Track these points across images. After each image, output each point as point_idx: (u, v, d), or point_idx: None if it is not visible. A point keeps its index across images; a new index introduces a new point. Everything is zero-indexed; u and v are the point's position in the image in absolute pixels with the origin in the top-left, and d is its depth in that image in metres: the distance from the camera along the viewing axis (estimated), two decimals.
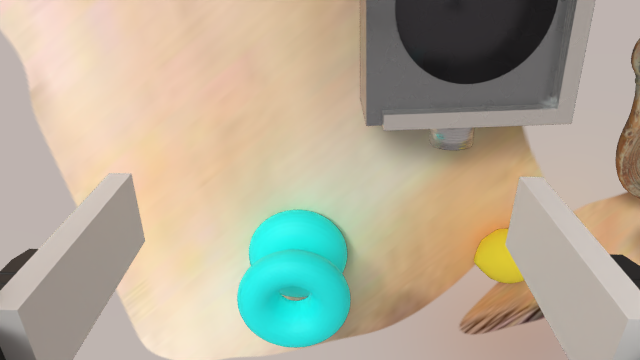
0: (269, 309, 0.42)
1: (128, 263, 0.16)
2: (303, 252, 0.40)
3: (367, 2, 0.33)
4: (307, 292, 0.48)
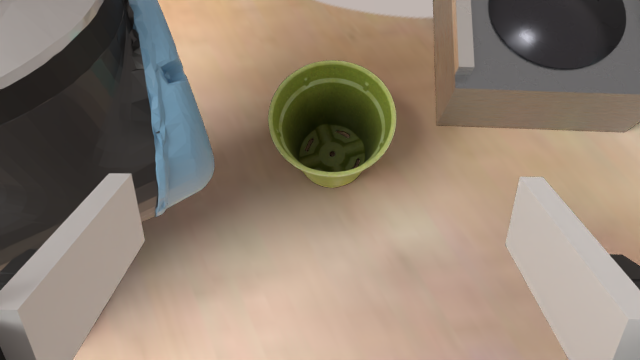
0: None
1: (128, 263, 0.16)
2: None
3: (559, 91, 0.37)
4: None
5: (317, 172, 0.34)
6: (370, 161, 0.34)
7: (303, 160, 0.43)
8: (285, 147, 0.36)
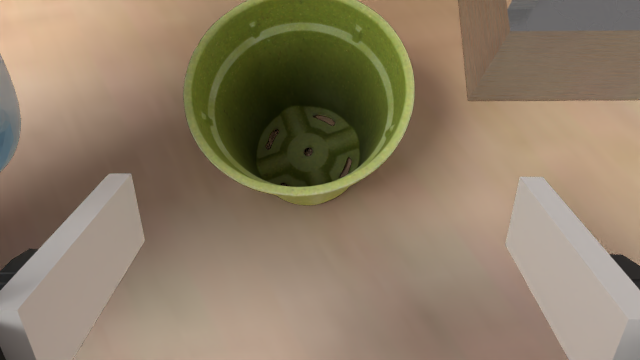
0: None
1: (128, 263, 0.16)
2: None
3: None
4: None
5: (274, 188, 0.18)
6: (371, 164, 0.18)
7: (262, 163, 0.27)
8: (220, 144, 0.21)
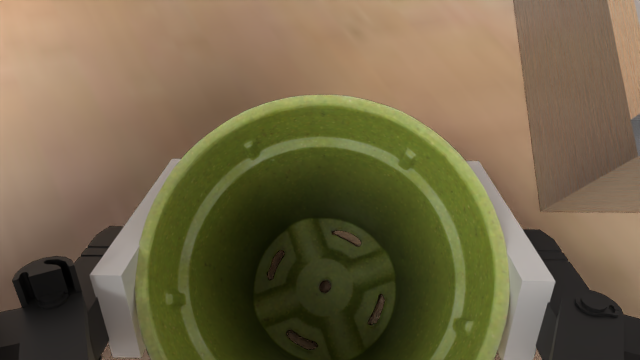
0: None
1: None
2: None
3: None
4: None
5: None
6: None
7: (262, 303, 0.20)
8: (195, 337, 0.13)
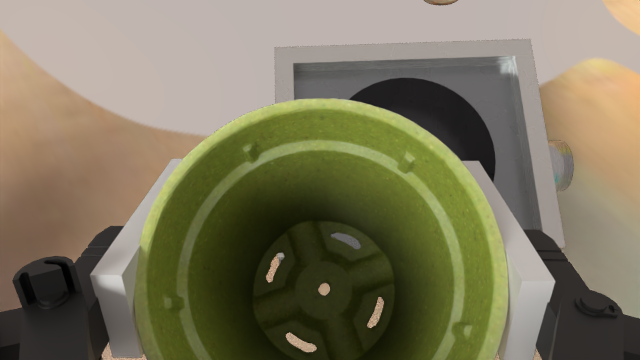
0: None
1: None
2: None
3: None
4: None
5: None
6: None
7: (261, 305, 0.20)
8: (194, 341, 0.13)
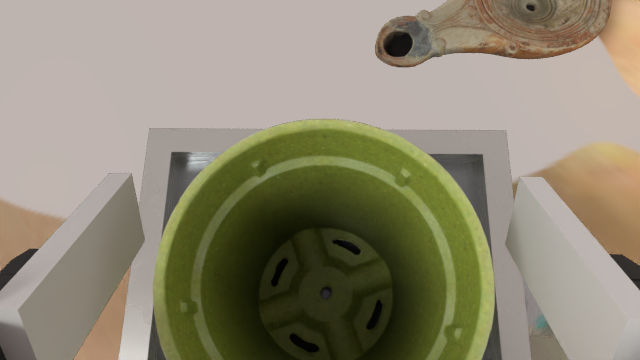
0: None
1: (128, 263, 0.16)
2: None
3: None
4: None
5: None
6: None
7: (266, 308, 0.21)
8: (207, 342, 0.14)
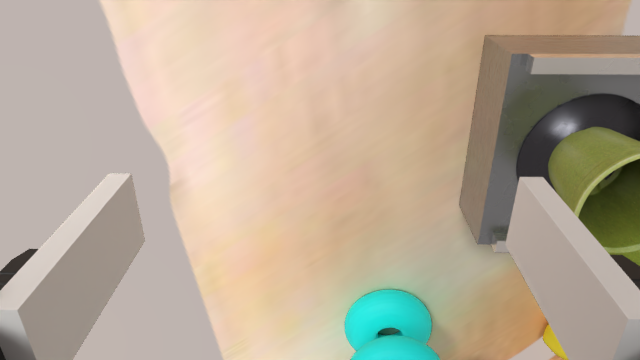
0: None
1: (128, 263, 0.16)
2: (409, 340, 0.47)
3: (494, 153, 0.39)
4: None
5: (581, 204, 0.31)
6: None
7: None
8: None
